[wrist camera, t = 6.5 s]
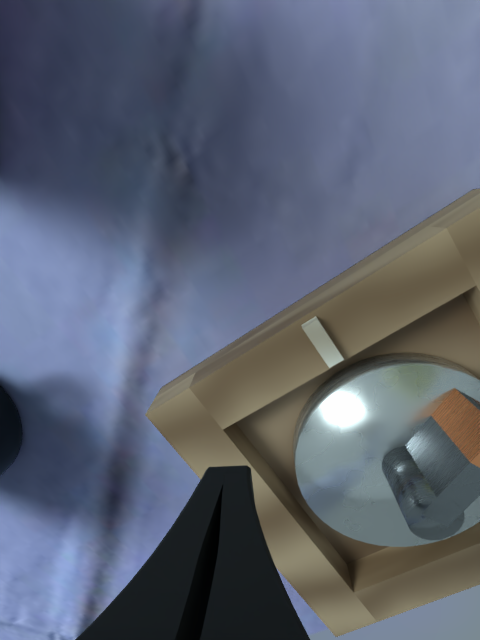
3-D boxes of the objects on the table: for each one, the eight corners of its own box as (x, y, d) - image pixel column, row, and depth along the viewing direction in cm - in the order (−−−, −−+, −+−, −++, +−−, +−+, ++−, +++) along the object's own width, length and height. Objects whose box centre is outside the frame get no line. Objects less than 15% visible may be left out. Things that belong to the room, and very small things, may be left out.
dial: (414, 550, 22) (456, 644, 17) (256, 471, 21) (255, 548, 16) (547, 415, 18) (647, 486, 14) (368, 313, 17) (408, 351, 13)
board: (612, 473, 21) (679, 523, 17) (327, 589, 25) (337, 646, 22) (473, 189, 17) (525, 183, 13) (161, 387, 21) (142, 420, 18)
